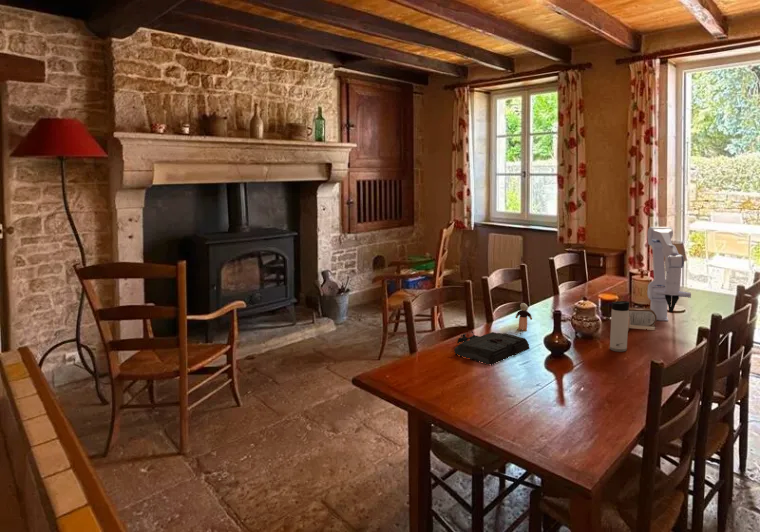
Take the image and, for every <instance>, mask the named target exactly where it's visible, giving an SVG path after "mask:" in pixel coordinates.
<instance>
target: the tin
mask: <svg viewBox="0 0 760 532" xmlns="http://www.w3.org/2000/svg"><path fill="white" fill-rule="evenodd" d="M629 317H630V320H629V325H640V326H651V327H653V326H652V325H654V324H655V323H656V322H657V320H656V319H657V317H656V314H655V313H654V311H653V310H651V309H650V308H647V307H645V308H643V307H629ZM654 326H655V325H654Z"/></svg>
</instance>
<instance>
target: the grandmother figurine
mask: <svg viewBox="0 0 760 532" xmlns="http://www.w3.org/2000/svg"><path fill="white" fill-rule="evenodd" d="M519 306H520V310H519V311H517V313H516V314H515V319H518V327H517V328H516V330H517V331H522V330H523V332H528V318H529V320H530V321H531V320H533V317H532V314H531V313H530V312H529V311H527V309H529V306H528V305H527V304H526V303H525V302H521V303H520V305H519ZM518 317H519V318H518Z"/></svg>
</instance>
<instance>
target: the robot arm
mask: <svg viewBox="0 0 760 532" xmlns="http://www.w3.org/2000/svg"><path fill="white" fill-rule="evenodd" d="M673 235H674V231H673V228H672V226H649V227H648V229H647V243H648V246H650V247H651V249H652V265H653V280H652V281H650V282H649V283H648V285H647V293H646V294H647V298H648V300H650V308H649V309H651V310H653V311H654V313H655V314H656V317H657V319H656V321H664V322H668V321H669V318H668V313H670V314H671V313H674V308H675V306H676V304H677V303H678V301H679V299H680V298H682V297H683V298H690V299H691V298H692V293H691V292H687V291H680V290H681V278H682V277H681V276H682V269H684V265H685V258H684V255H683V254H680V253H679V251H678V249H677V247H676V245H675V244H673V243H672V239H673Z"/></svg>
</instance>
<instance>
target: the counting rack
mask: <svg viewBox="0 0 760 532" xmlns="http://www.w3.org/2000/svg"><path fill="white" fill-rule="evenodd" d="M629 329H638V330H646V329H647V331H656V326H655V324H654V325H652V326H640V325H629Z"/></svg>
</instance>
